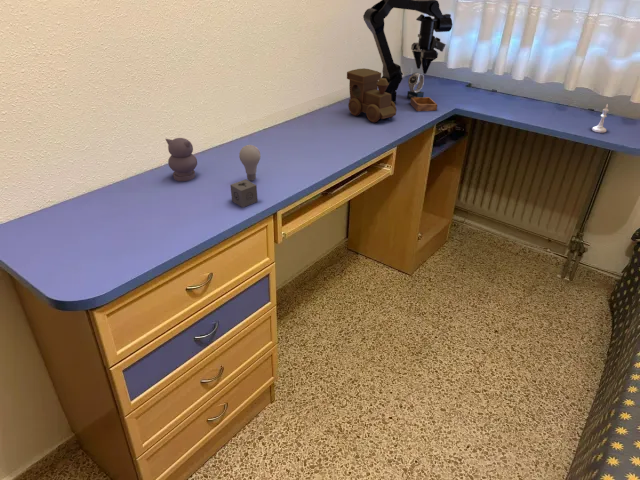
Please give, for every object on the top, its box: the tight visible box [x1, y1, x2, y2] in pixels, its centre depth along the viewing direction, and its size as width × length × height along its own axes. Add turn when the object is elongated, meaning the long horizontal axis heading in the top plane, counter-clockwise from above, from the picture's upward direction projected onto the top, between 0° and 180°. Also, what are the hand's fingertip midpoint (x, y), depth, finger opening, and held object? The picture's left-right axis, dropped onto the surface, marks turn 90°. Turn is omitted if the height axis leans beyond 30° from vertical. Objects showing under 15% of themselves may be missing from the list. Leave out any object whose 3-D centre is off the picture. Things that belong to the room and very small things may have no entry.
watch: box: [406, 72, 425, 100], centre depth 213 cm, size 6×8×11 cm
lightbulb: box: [238, 144, 261, 182], centre depth 141 cm, size 6×6×11 cm
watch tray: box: [409, 96, 438, 112], centre depth 206 cm, size 8×11×3 cm
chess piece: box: [591, 103, 609, 134], centre depth 181 cm, size 5×5×10 cm
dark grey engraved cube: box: [229, 179, 258, 208], centre depth 131 cm, size 5×5×5 cm
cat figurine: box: [165, 137, 198, 182], centre depth 143 cm, size 8×8×12 cm
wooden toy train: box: [346, 68, 397, 123], centre depth 191 cm, size 20×11×17 cm, turn 40°
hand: (421, 71), depth 209 cm, fingers open, 9 cm apart
